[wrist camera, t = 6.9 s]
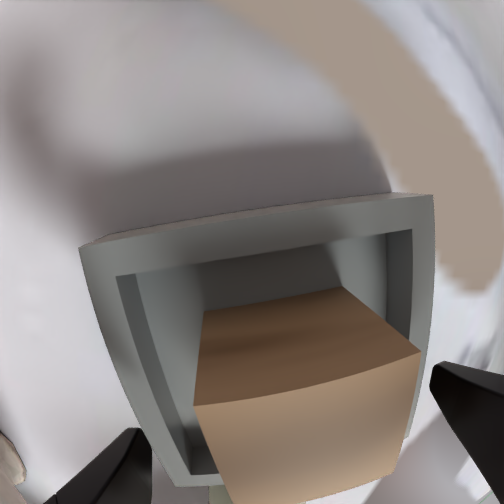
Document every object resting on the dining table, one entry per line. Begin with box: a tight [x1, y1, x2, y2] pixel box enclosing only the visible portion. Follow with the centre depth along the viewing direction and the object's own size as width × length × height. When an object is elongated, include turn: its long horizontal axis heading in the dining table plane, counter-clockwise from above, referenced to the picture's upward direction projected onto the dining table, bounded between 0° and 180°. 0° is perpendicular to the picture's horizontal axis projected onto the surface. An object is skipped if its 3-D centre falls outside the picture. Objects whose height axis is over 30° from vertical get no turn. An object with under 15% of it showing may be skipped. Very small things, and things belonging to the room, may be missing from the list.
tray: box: [78, 192, 435, 487], centre depth 10 cm, size 11×11×3 cm
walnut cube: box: [193, 286, 422, 504], centre depth 8 cm, size 5×5×5 cm
